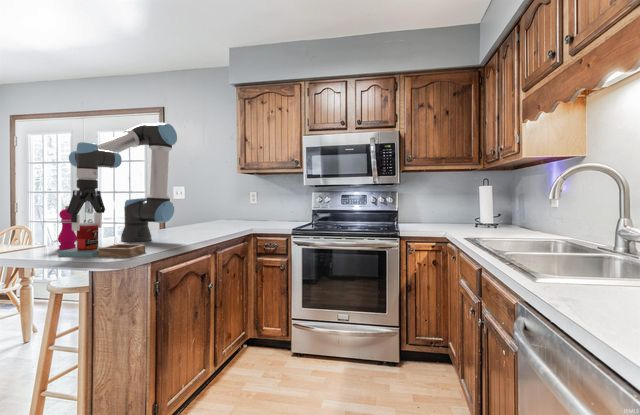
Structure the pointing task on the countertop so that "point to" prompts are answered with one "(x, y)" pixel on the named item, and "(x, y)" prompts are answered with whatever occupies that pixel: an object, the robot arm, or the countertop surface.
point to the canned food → (87, 236)
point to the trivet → (79, 253)
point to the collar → (121, 250)
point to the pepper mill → (66, 231)
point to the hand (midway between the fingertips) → (87, 229)
